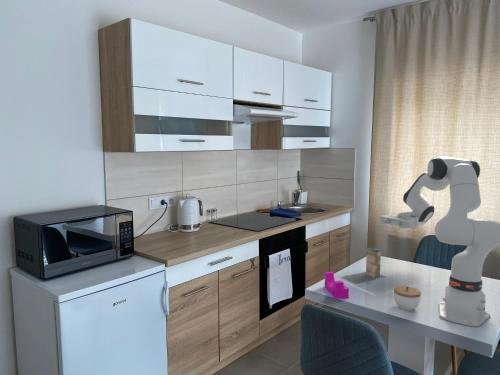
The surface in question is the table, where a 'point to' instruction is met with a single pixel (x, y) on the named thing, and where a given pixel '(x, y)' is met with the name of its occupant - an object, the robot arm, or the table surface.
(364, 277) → the mat
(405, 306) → the lidded jar
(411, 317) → the table surface
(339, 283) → the toy block
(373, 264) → the tall block
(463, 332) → the table surface
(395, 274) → the table surface
